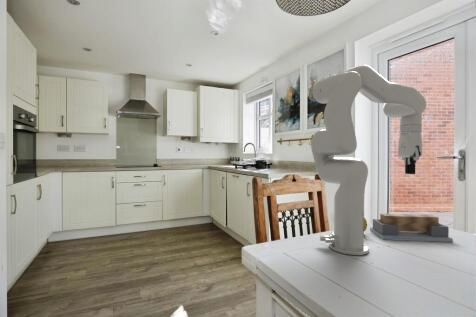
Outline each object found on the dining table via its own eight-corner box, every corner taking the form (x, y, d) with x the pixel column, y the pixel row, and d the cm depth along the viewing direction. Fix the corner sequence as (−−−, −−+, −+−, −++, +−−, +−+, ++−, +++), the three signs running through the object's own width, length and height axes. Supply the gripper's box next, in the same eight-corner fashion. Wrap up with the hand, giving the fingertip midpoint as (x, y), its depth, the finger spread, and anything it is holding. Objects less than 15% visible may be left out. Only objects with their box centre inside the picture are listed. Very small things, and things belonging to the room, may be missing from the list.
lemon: (367, 233, 105) (367, 214, 105) (366, 236, 101) (366, 216, 100) (353, 230, 108) (353, 212, 108) (351, 234, 104) (351, 215, 103)
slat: (384, 230, 101) (384, 215, 101) (380, 227, 105) (380, 213, 105) (438, 232, 99) (438, 217, 99) (431, 229, 103) (431, 215, 103)
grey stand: (382, 239, 98) (382, 225, 98) (369, 229, 110) (370, 218, 110) (452, 241, 95) (452, 228, 95) (431, 232, 107) (432, 219, 107)
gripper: (392, 131, 113) (392, 172, 114) (410, 128, 98) (410, 175, 99) (410, 131, 112) (409, 172, 113) (431, 128, 98) (431, 175, 98)
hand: (410, 173), depth 106 cm, fingers closed
